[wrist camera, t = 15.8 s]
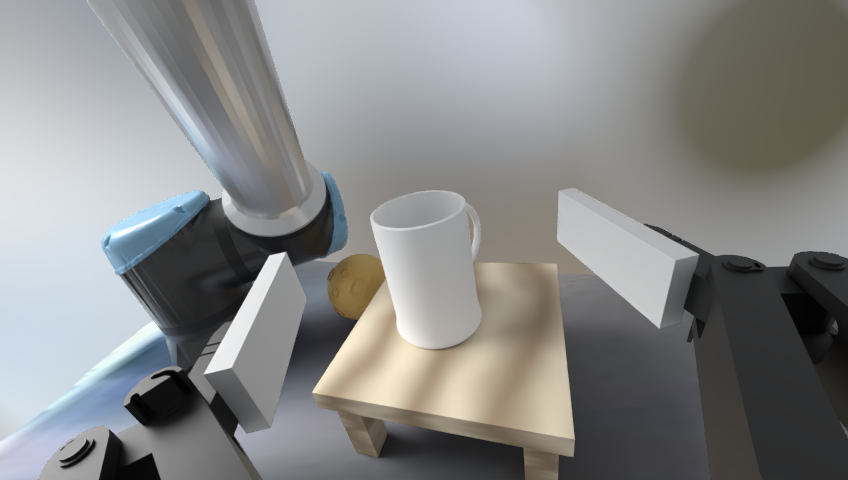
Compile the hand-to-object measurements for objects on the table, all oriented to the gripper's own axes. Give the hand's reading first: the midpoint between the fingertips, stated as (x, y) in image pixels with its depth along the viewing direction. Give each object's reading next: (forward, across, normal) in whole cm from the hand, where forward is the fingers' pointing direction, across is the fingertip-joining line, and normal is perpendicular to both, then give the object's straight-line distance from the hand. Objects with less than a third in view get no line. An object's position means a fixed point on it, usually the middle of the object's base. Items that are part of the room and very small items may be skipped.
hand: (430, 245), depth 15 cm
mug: (+12, +2, -15) cm, 19 cm away
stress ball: (+28, -9, -25) cm, 38 cm away
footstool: (+10, +2, -24) cm, 27 cm away
